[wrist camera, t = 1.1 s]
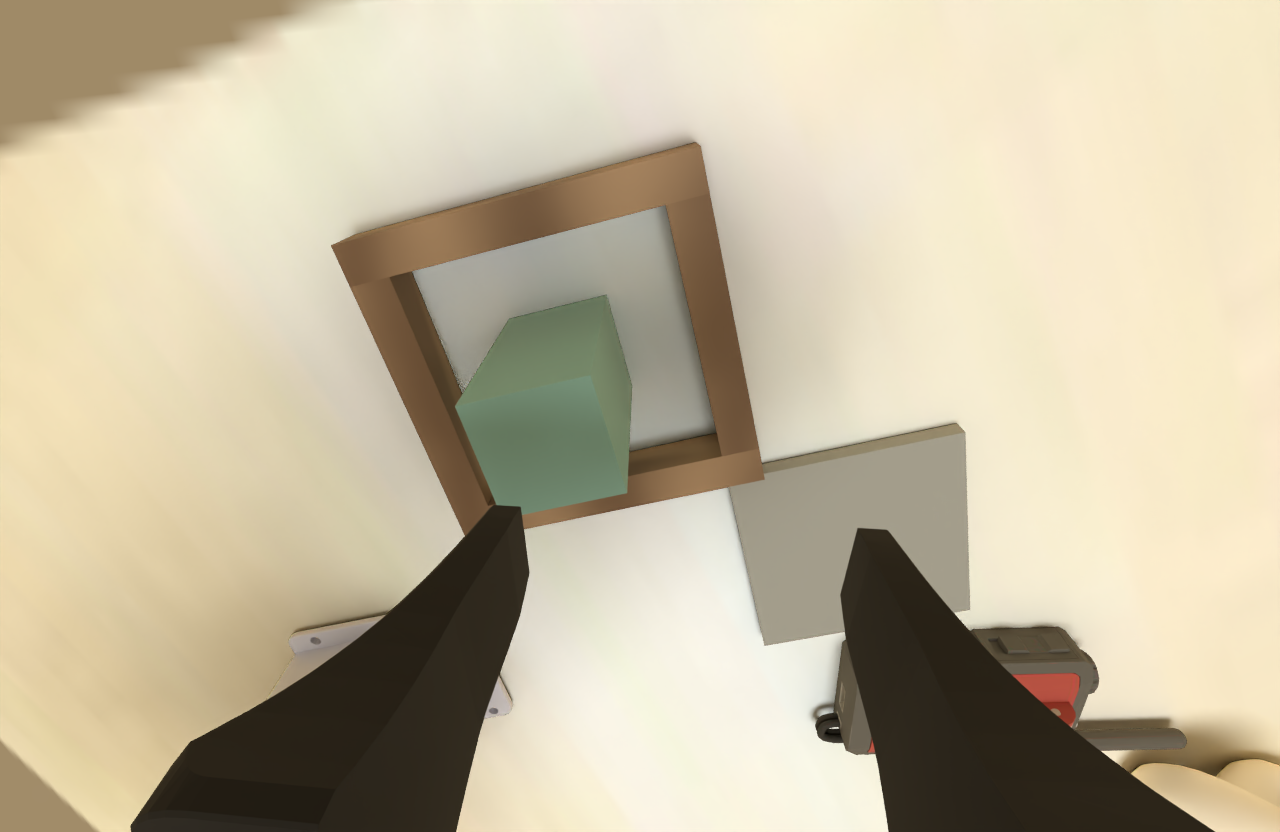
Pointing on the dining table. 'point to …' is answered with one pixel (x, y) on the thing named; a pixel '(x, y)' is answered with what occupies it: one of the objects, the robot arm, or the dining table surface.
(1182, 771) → the cream rounded sculpture
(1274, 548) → the dining table surface
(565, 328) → the green block
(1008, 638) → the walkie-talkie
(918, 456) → the ceramic tile
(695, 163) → the brown square frame
